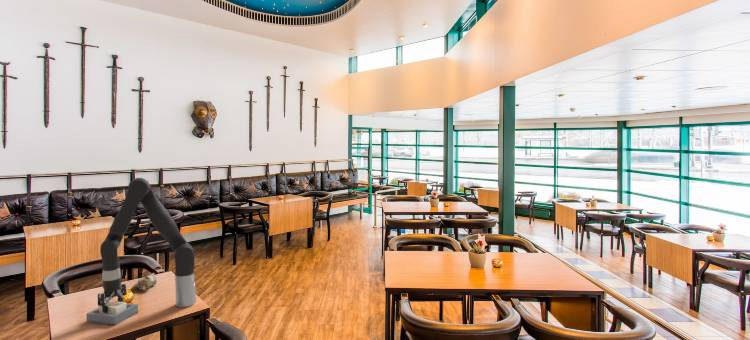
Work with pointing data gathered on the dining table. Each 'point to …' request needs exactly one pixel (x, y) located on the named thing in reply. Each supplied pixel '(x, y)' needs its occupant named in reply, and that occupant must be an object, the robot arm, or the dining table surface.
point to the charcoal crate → (112, 319)
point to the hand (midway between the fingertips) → (113, 308)
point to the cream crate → (114, 307)
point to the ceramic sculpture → (145, 282)
